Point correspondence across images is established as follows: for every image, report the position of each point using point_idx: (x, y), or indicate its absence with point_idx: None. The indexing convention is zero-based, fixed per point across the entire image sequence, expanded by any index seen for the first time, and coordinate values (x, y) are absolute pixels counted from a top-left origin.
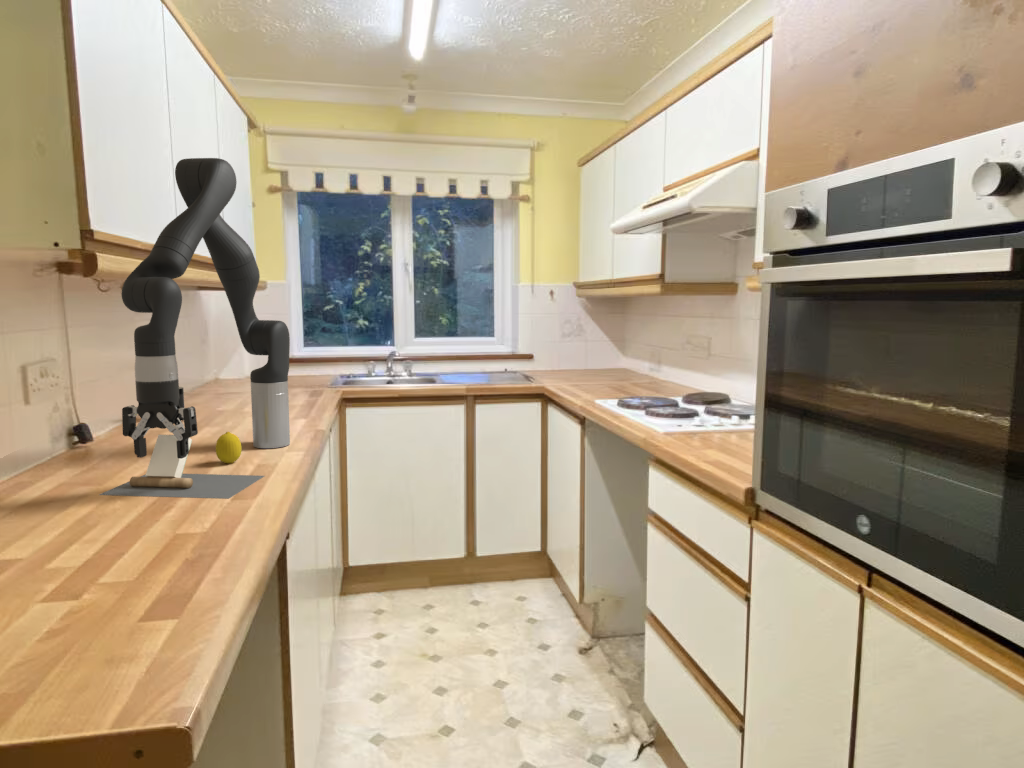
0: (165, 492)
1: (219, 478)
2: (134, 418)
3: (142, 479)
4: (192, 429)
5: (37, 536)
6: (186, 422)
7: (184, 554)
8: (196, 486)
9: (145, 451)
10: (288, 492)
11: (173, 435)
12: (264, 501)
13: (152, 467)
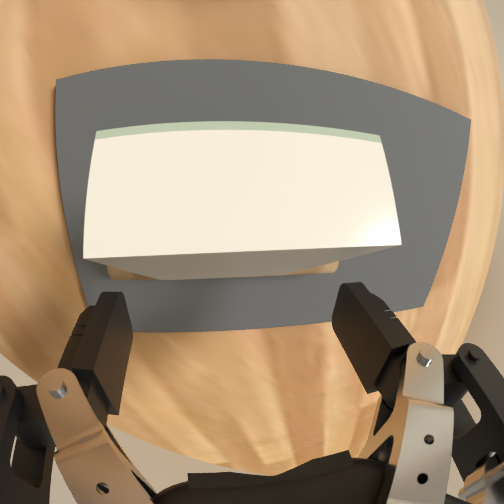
0: (269, 297)
1: (377, 132)
2: (4, 498)
3: (157, 279)
4: (473, 382)
5: (186, 443)
6: (464, 456)
7: None
8: None
9: (119, 313)
10: (493, 233)
11: (268, 251)
12: (463, 287)
13: (177, 277)
